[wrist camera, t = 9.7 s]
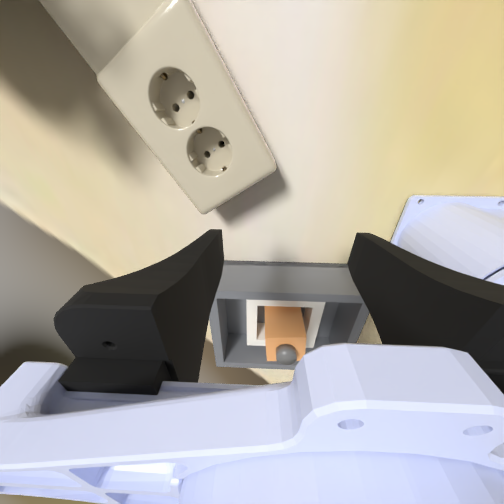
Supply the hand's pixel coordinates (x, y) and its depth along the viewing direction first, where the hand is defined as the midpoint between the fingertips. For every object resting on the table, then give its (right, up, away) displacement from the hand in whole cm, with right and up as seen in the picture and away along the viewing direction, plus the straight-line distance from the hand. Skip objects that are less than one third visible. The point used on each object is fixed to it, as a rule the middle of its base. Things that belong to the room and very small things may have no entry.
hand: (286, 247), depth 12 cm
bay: (+2, -7, +16) cm, 18 cm away
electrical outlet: (-8, +13, +5) cm, 16 cm away
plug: (+2, -7, +15) cm, 17 cm away
